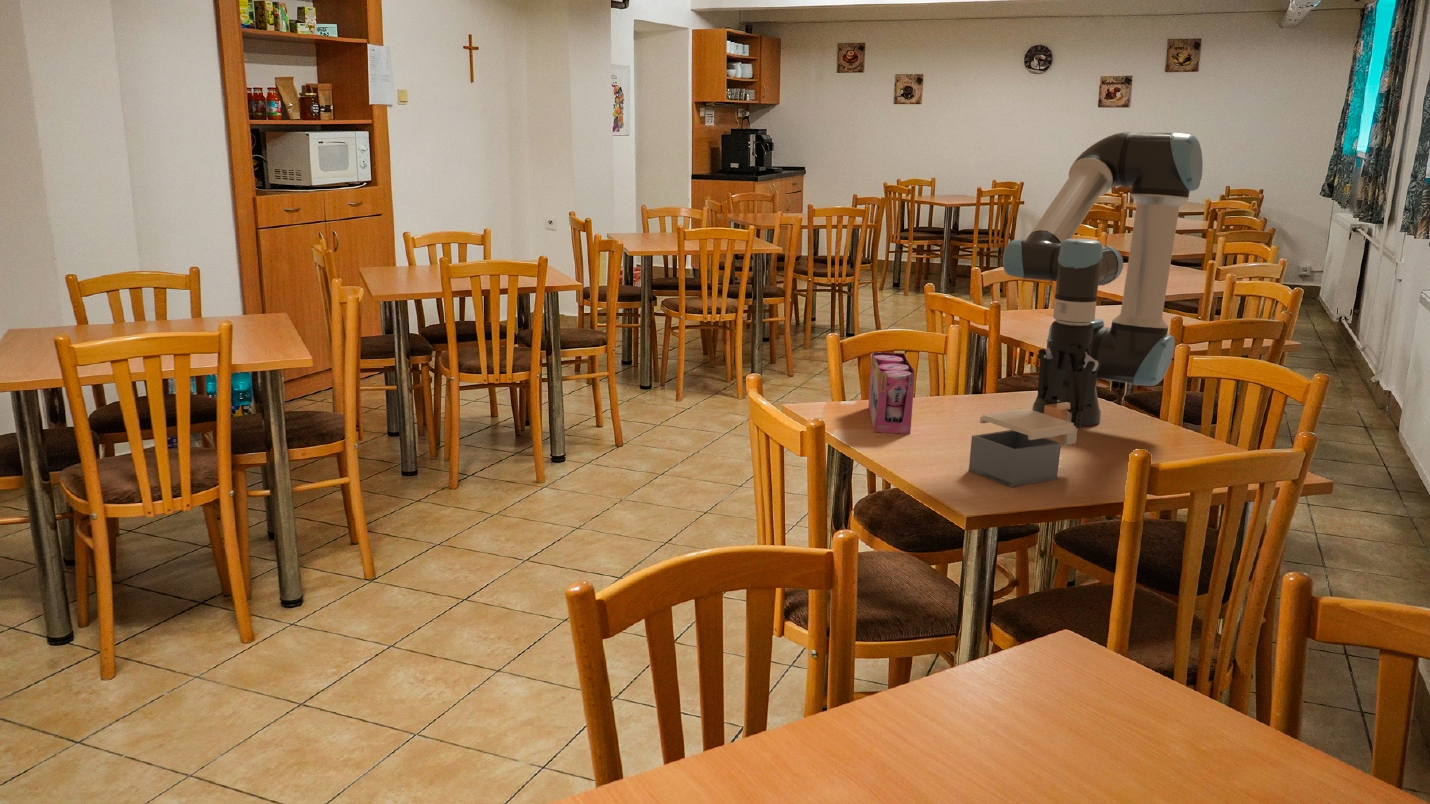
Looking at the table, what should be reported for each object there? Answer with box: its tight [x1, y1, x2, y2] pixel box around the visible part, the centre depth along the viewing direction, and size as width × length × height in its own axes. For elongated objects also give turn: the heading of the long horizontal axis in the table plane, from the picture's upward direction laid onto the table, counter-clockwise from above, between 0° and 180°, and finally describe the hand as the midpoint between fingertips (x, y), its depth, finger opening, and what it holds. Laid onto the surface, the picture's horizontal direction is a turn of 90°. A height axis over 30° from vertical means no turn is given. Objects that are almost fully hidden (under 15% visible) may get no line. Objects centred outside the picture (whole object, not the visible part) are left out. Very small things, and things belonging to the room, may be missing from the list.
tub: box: [968, 429, 1062, 488], centre depth 200 cm, size 12×11×7 cm
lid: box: [979, 402, 1082, 440], centre depth 202 cm, size 18×13×4 cm
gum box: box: [868, 351, 916, 435], centre depth 236 cm, size 24×8×14 cm, turn 176°
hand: (1060, 439), depth 206 cm, fingers closed on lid, 4 cm apart
